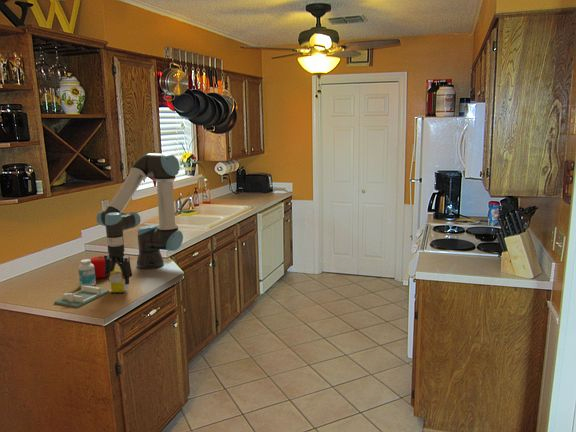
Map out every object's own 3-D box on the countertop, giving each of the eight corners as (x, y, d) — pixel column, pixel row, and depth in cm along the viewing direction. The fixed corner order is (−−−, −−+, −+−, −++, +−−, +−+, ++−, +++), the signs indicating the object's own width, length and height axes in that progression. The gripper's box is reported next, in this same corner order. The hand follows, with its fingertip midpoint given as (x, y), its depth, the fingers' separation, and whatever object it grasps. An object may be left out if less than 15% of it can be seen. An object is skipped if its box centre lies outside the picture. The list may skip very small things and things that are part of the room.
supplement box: (127, 289, 235) (125, 268, 232) (123, 293, 229) (122, 272, 227) (115, 289, 235) (113, 268, 232) (111, 293, 229) (109, 272, 226)
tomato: (81, 278, 250) (79, 258, 248) (102, 271, 262) (100, 251, 260) (98, 282, 245) (96, 261, 242) (118, 274, 257) (116, 254, 254)
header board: (86, 288, 235) (86, 280, 234) (109, 292, 230) (108, 283, 229) (54, 303, 217) (53, 294, 216) (77, 307, 212) (76, 298, 211)
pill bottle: (80, 284, 242) (77, 259, 239) (95, 282, 245) (93, 257, 242) (80, 288, 235) (77, 263, 232) (95, 286, 238) (93, 261, 235)
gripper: (93, 244, 227) (97, 289, 232) (127, 248, 220) (131, 294, 224) (104, 240, 234) (108, 284, 239) (138, 244, 226) (141, 289, 231)
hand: (119, 289), depth 231 cm, fingers closed on supplement box, 7 cm apart
